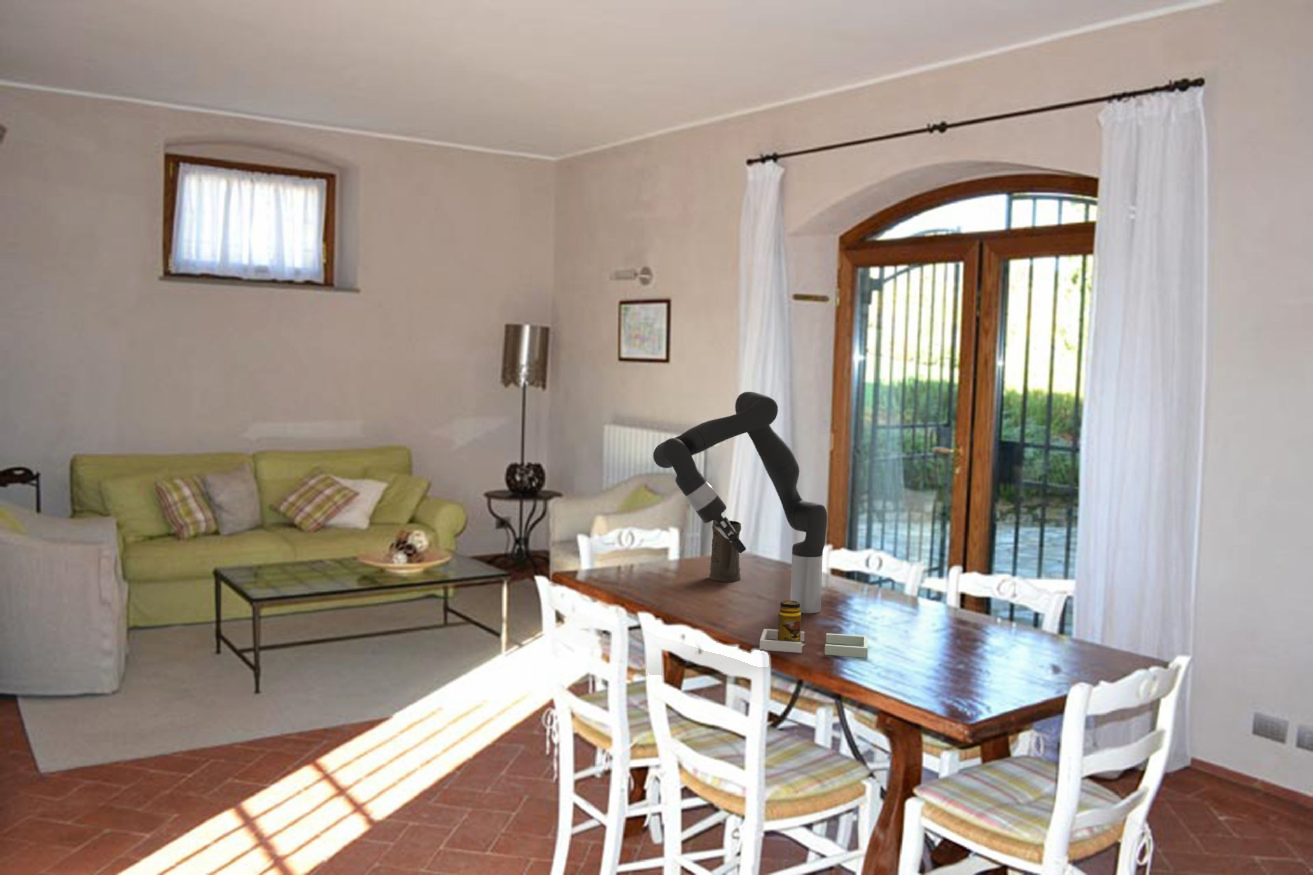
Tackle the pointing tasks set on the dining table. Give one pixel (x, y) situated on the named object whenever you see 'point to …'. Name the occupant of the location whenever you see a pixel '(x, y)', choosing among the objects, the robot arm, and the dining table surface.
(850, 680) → the dining table surface
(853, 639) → the white shallow tray
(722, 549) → the beer stein
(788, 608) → the condiment
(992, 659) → the dining table surface
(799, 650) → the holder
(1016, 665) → the dining table surface
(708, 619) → the dining table surface
